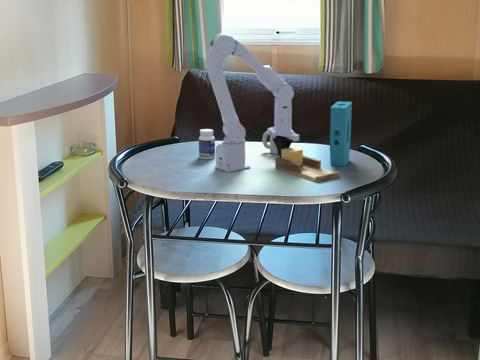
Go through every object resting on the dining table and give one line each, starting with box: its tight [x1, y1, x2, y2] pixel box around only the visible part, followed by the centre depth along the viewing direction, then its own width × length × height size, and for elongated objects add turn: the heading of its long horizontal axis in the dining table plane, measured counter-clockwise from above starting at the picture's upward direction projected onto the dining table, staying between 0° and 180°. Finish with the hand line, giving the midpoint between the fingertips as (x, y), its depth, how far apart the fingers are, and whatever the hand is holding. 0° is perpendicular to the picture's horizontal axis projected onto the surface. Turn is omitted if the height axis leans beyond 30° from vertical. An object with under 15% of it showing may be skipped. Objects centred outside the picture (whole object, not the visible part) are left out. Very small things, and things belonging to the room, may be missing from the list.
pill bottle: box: [198, 128, 216, 160], centre depth 238 cm, size 6×6×10 cm
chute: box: [274, 155, 341, 183], centre depth 219 cm, size 9×21×4 cm, turn 35°
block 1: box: [281, 146, 304, 165], centre depth 224 cm, size 5×5×5 cm
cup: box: [261, 126, 291, 156], centre depth 244 cm, size 7×10×9 cm
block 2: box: [329, 101, 353, 167], centre depth 228 cm, size 12×5×20 cm, turn 160°
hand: (282, 158), depth 228 cm, fingers closed
